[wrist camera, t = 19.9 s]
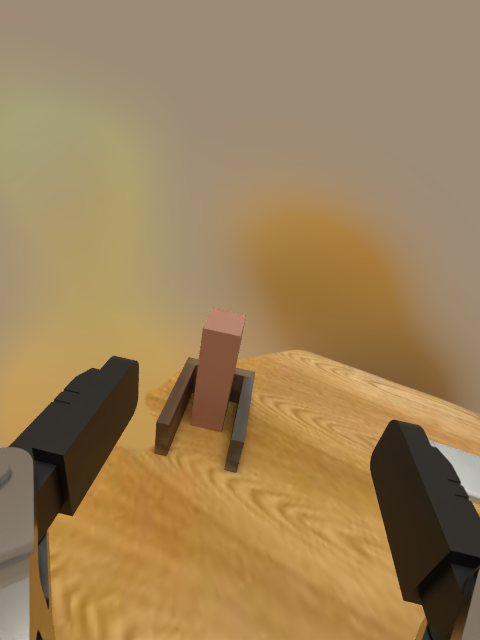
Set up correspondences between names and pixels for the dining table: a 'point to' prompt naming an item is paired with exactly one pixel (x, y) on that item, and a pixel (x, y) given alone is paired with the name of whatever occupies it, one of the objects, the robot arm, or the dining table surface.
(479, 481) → the hard drive
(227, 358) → the reddish pink rectangular block
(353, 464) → the dining table surface
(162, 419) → the book slot
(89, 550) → the dining table surface
